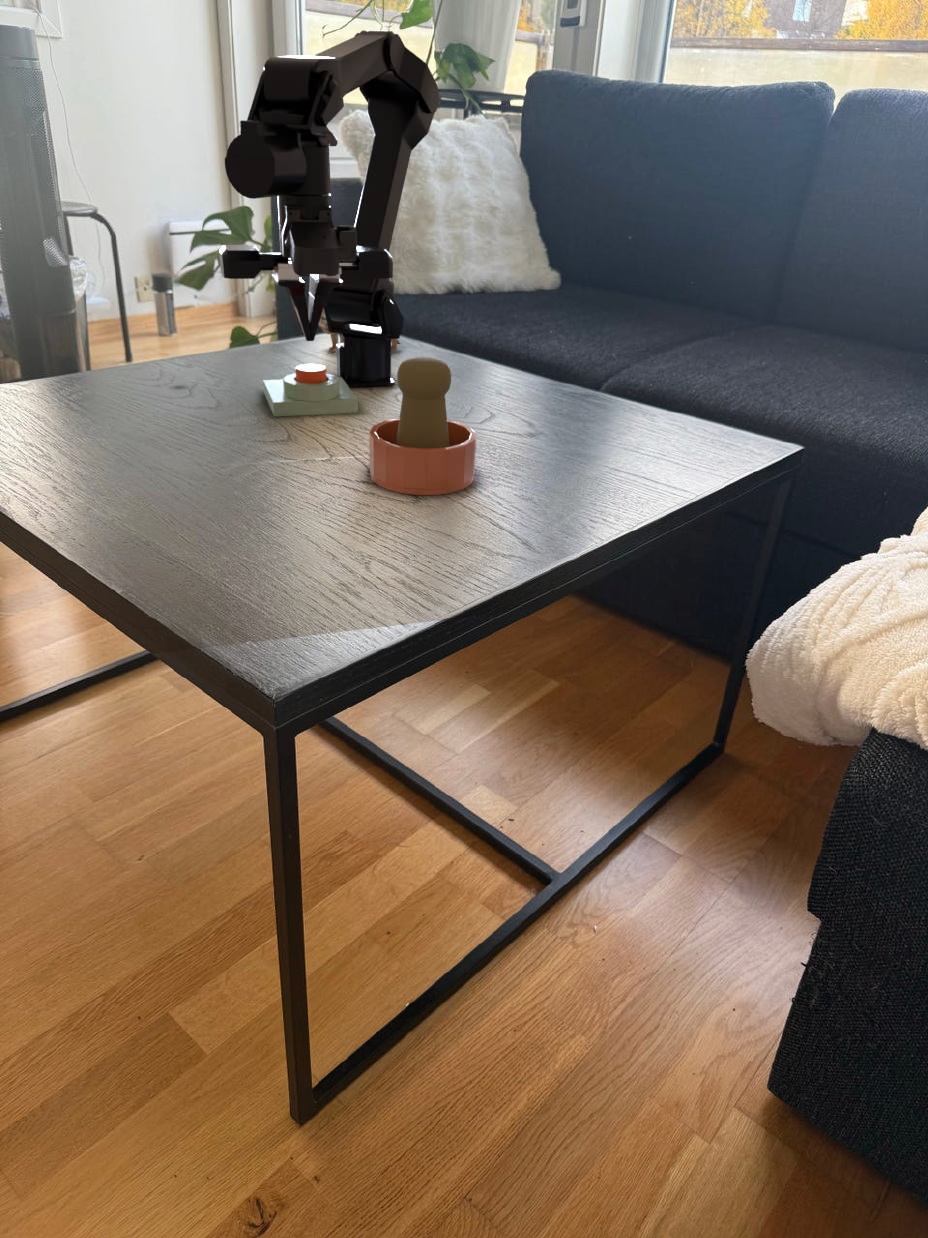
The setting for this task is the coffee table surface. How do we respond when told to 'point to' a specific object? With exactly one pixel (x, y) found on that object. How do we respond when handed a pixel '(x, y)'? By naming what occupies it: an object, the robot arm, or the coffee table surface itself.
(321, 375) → the button
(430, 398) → the cork
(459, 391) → the coffee table surface
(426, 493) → the bowl
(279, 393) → the button box
